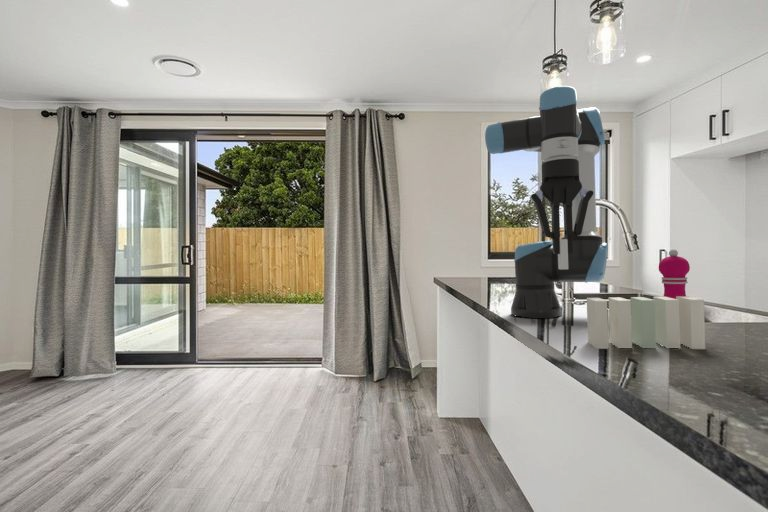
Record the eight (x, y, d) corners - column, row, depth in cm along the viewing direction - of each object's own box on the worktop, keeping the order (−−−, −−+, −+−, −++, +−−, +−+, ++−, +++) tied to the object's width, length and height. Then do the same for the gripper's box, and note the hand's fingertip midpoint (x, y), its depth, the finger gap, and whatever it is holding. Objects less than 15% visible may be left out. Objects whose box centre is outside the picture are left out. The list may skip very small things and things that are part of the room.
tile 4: (654, 342, 93) (653, 296, 93) (666, 342, 93) (665, 296, 93) (667, 349, 87) (665, 300, 87) (680, 349, 87) (678, 299, 87)
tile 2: (609, 342, 95) (608, 297, 95) (621, 342, 94) (620, 297, 94) (619, 348, 89) (617, 300, 89) (632, 348, 88) (630, 300, 88)
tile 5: (677, 342, 92) (676, 296, 92) (689, 342, 92) (688, 296, 92) (692, 349, 86) (690, 299, 86) (705, 349, 86) (703, 299, 86)
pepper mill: (701, 338, 95) (698, 248, 95) (665, 338, 97) (662, 250, 97) (685, 332, 102) (683, 248, 102) (652, 332, 104) (649, 249, 104)
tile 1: (588, 342, 96) (586, 297, 96) (599, 342, 95) (598, 297, 95) (596, 348, 90) (594, 301, 90) (608, 348, 89) (606, 300, 89)
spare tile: (632, 342, 94) (630, 297, 94) (644, 342, 94) (642, 296, 93) (643, 348, 88) (641, 300, 88) (656, 348, 88) (654, 300, 88)
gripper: (531, 159, 91) (534, 270, 91) (597, 154, 88) (600, 268, 88) (526, 166, 98) (529, 269, 98) (587, 162, 96) (590, 267, 96)
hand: (563, 269), depth 93 cm, fingers closed
